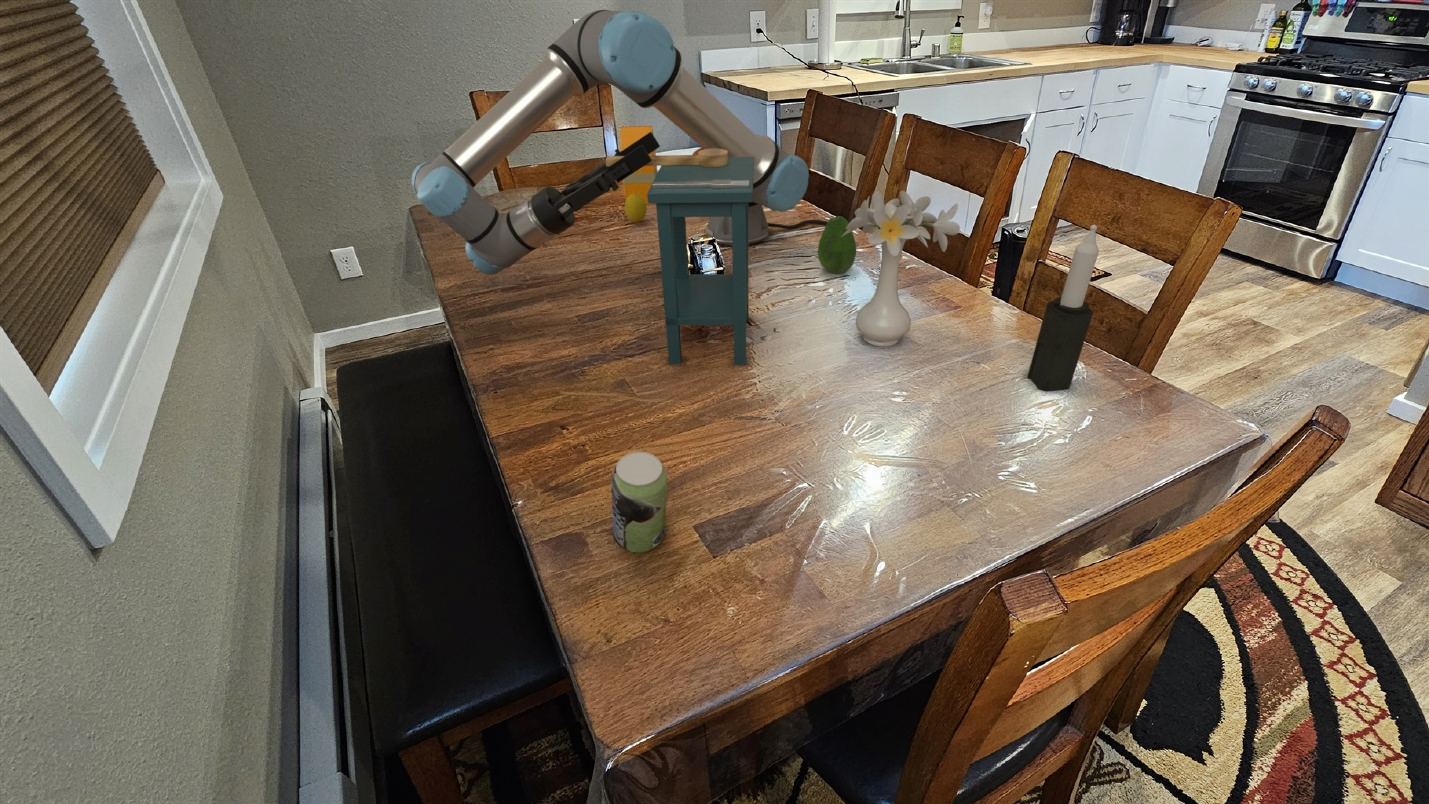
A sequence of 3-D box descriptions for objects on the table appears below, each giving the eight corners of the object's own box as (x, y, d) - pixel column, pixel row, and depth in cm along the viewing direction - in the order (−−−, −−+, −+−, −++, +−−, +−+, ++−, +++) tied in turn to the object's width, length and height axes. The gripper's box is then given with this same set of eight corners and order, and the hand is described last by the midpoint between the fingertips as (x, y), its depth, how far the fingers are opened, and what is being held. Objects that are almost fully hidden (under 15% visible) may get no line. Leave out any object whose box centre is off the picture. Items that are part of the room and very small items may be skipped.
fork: (652, 189, 95) (651, 185, 95) (654, 184, 97) (654, 180, 97) (748, 188, 94) (748, 184, 94) (749, 183, 96) (749, 179, 96)
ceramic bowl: (586, 210, 183) (583, 191, 180) (524, 236, 166) (520, 216, 163) (526, 198, 193) (523, 181, 190) (462, 222, 177) (458, 204, 174)
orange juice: (657, 204, 185) (650, 128, 174) (625, 205, 185) (617, 129, 174) (659, 195, 191) (653, 122, 180) (629, 196, 192) (621, 123, 181)
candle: (1024, 374, 105) (1066, 219, 91) (1055, 372, 105) (1101, 217, 91) (1040, 391, 100) (1086, 232, 87) (1072, 389, 101) (1124, 230, 87)
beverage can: (636, 513, 81) (626, 435, 74) (684, 536, 77) (678, 457, 71) (602, 544, 77) (587, 465, 70) (650, 571, 73) (640, 490, 66)
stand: (662, 367, 110) (647, 193, 94) (676, 314, 127) (664, 158, 110) (752, 368, 109) (752, 191, 93) (754, 314, 125) (754, 156, 109)
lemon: (644, 227, 169) (641, 196, 164) (623, 227, 170) (620, 195, 165) (650, 220, 173) (647, 190, 169) (630, 220, 174) (627, 189, 170)
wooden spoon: (604, 169, 106) (603, 157, 105) (610, 161, 110) (608, 150, 109) (727, 167, 104) (726, 155, 103) (728, 159, 108) (728, 148, 107)
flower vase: (949, 344, 114) (977, 199, 100) (855, 364, 109) (870, 215, 95) (907, 313, 124) (927, 177, 110) (819, 330, 119) (828, 191, 105)
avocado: (831, 262, 146) (835, 208, 139) (861, 271, 141) (866, 216, 134) (808, 273, 141) (811, 218, 134) (838, 283, 136) (843, 226, 130)
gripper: (572, 215, 124) (672, 150, 116) (540, 257, 106) (654, 185, 98) (547, 180, 121) (647, 111, 113) (509, 218, 103) (625, 139, 95)
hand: (651, 145), depth 106 cm, fingers open, 9 cm apart
